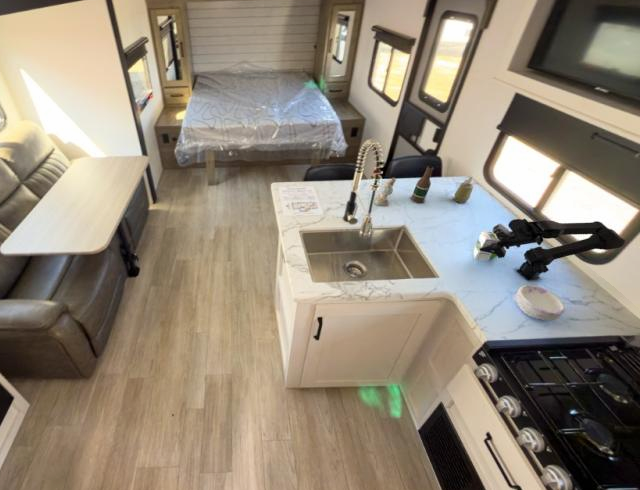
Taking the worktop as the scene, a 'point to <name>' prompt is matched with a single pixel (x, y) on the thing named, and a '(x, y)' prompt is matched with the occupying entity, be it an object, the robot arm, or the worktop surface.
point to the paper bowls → (539, 302)
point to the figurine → (385, 192)
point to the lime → (493, 256)
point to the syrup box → (484, 245)
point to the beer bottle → (422, 186)
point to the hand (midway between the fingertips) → (481, 245)
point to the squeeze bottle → (464, 191)
